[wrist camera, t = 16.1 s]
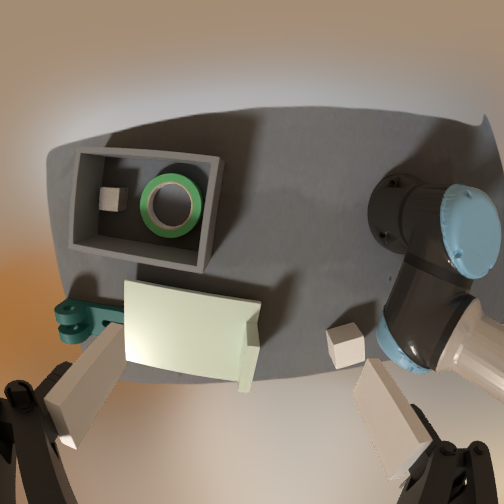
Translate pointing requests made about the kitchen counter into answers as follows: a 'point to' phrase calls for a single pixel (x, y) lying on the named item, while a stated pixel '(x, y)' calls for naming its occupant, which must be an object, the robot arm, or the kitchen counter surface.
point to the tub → (89, 241)
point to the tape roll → (148, 211)
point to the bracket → (84, 319)
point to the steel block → (113, 198)
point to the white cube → (346, 345)
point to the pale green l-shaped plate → (191, 331)
